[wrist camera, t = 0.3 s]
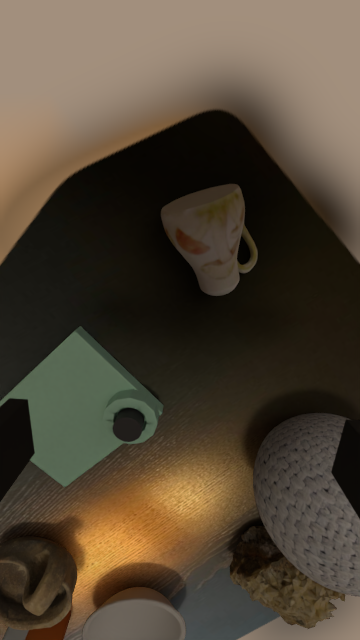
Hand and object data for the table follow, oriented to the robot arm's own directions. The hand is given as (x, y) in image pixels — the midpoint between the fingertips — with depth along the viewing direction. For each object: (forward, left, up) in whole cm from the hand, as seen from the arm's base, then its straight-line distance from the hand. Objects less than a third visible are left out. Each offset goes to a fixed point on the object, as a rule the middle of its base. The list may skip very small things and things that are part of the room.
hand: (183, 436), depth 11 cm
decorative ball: (0, +22, -20) cm, 30 cm away
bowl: (+41, +14, -20) cm, 48 cm away
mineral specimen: (+13, +35, -20) cm, 42 cm away
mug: (-7, -4, -20) cm, 21 cm away
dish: (+38, +31, -20) cm, 53 cm away
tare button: (+13, +5, -16) cm, 21 cm away
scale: (+19, 0, -19) cm, 27 cm away
